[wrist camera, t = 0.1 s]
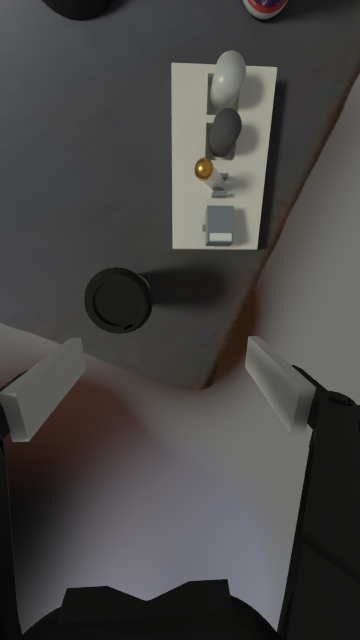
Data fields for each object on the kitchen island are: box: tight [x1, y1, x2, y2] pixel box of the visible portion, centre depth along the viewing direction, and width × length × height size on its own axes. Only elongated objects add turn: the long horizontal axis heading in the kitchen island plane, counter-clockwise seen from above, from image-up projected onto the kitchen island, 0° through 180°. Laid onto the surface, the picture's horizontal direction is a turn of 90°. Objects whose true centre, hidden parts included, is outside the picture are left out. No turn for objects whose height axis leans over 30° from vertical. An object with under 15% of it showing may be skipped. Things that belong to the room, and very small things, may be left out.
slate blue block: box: [205, 205, 234, 246], centre depth 34 cm, size 6×4×2 cm
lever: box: [194, 157, 225, 191], centre depth 30 cm, size 3×3×9 cm
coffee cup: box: [84, 267, 153, 334], centre depth 35 cm, size 10×10×15 cm
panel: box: [172, 63, 277, 250], centre depth 34 cm, size 26×16×5 cm, turn 0°
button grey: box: [210, 51, 246, 111], centre depth 29 cm, size 4×4×4 cm
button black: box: [208, 108, 242, 157], centre depth 30 cm, size 4×4×4 cm
